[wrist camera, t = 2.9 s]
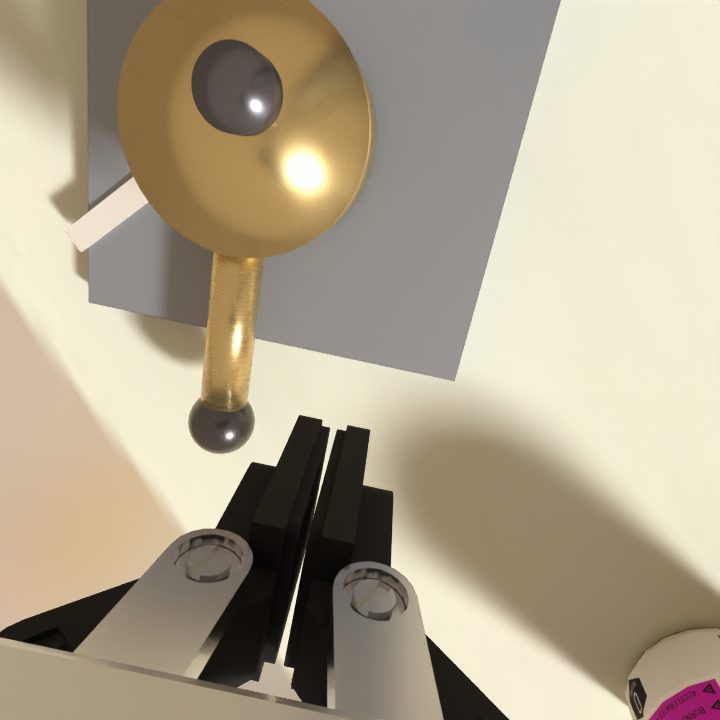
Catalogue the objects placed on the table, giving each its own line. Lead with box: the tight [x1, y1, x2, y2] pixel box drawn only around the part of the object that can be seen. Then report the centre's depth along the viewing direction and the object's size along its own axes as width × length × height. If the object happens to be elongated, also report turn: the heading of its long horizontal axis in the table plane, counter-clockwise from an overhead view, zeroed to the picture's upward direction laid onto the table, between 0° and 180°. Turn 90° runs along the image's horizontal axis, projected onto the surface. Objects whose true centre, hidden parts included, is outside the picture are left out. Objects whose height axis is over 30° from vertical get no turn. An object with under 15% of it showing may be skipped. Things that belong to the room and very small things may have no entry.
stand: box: [65, 0, 561, 381], centre depth 13 cm, size 20×17×13 cm
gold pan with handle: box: [117, 0, 377, 454], centre depth 18 cm, size 16×8×4 cm, turn 170°
